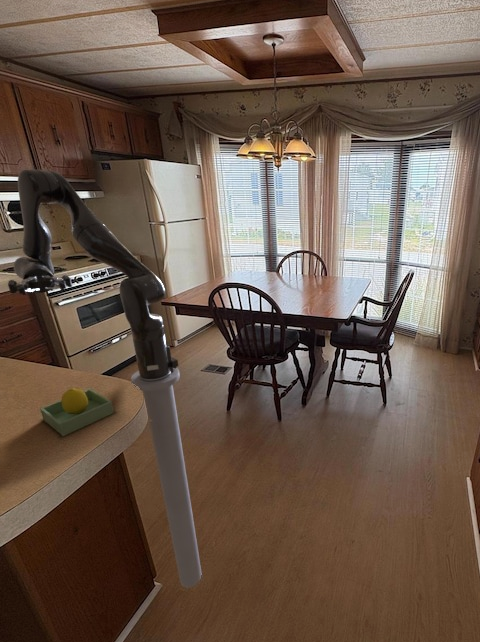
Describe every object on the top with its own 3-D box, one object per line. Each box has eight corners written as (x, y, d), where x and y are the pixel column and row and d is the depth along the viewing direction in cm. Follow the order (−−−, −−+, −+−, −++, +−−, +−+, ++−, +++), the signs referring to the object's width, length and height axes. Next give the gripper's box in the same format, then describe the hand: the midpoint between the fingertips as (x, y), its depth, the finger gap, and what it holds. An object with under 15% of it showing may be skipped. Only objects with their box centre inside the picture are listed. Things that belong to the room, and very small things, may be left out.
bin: (93, 399, 99) (90, 388, 97) (114, 412, 93) (111, 401, 92) (43, 420, 89) (39, 408, 88) (63, 436, 84) (59, 424, 82)
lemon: (67, 411, 92) (60, 385, 89) (92, 406, 95) (85, 381, 91) (64, 422, 88) (56, 396, 85) (89, 417, 90) (82, 391, 87)
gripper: (4, 268, 100) (5, 279, 89) (63, 263, 109) (70, 273, 98) (12, 293, 103) (14, 306, 92) (69, 286, 112) (77, 298, 101)
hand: (43, 289), depth 95 cm, fingers open, 8 cm apart
